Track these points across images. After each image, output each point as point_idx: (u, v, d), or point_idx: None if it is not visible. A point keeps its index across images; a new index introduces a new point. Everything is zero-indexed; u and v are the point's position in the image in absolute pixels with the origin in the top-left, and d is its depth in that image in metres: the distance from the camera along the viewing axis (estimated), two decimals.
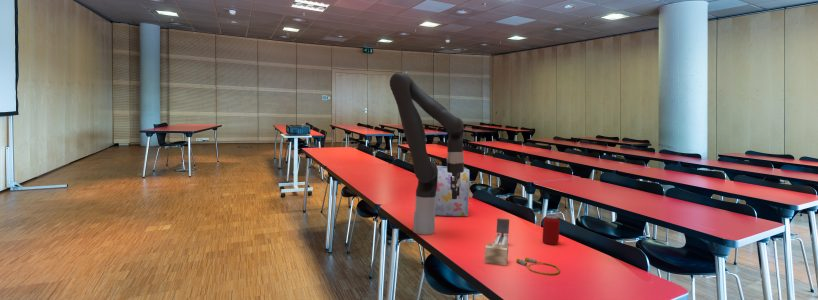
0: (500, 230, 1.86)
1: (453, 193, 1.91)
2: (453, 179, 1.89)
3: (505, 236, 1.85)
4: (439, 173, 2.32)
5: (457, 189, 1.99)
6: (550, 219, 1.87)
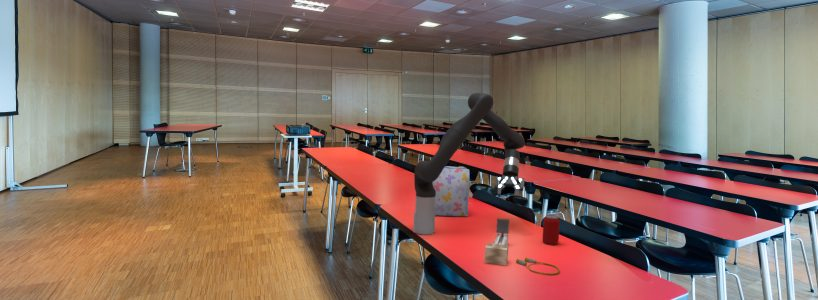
0: (500, 230, 1.86)
1: (518, 192, 2.02)
2: None
3: (505, 236, 1.85)
4: None
5: (500, 190, 2.05)
6: (550, 219, 1.87)
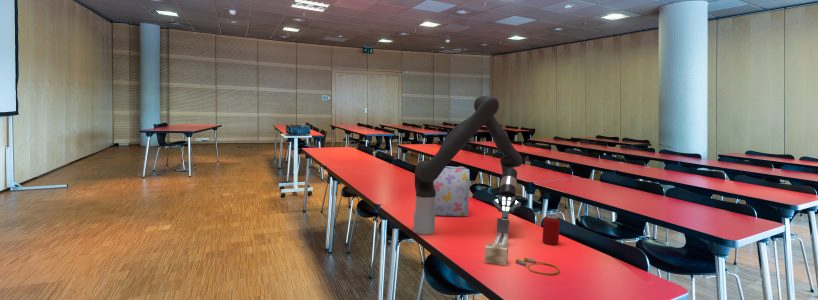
0: (500, 230, 1.86)
1: (508, 214, 1.95)
2: (518, 206, 1.97)
3: (505, 236, 1.85)
4: None
5: None
6: (550, 219, 1.87)
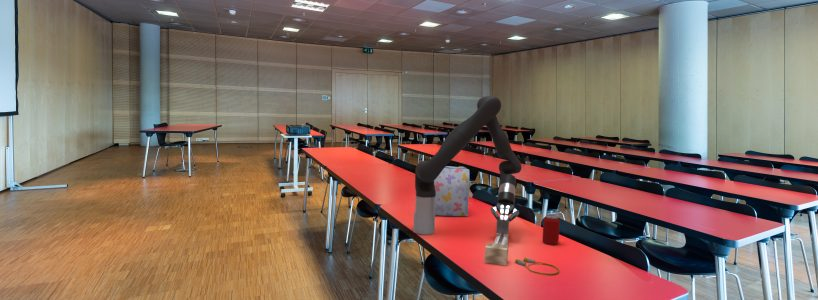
0: (500, 231, 1.85)
1: None
2: (517, 214, 1.90)
3: (505, 236, 1.85)
4: None
5: None
6: (550, 219, 1.87)
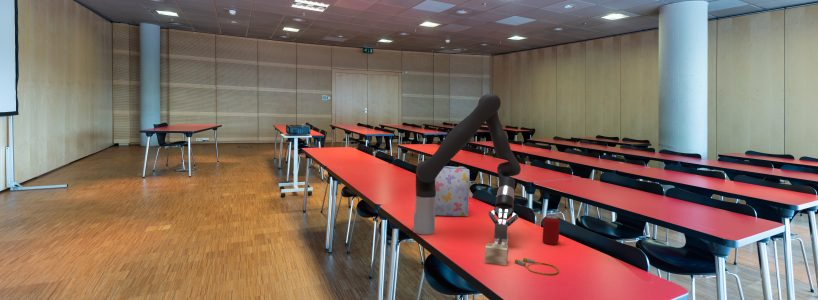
0: (498, 236, 1.78)
1: None
2: (516, 218, 1.83)
3: None
4: (439, 173, 2.32)
5: None
6: (550, 219, 1.87)
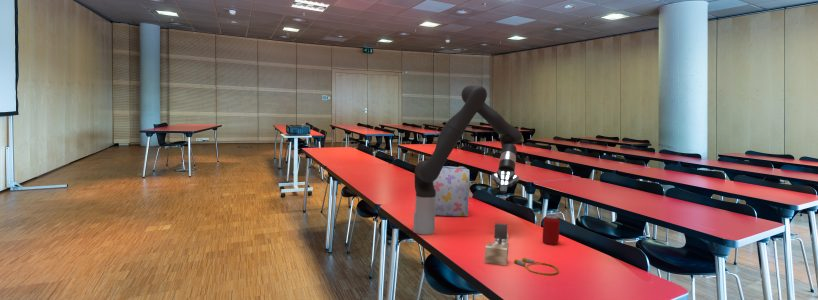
0: (498, 236, 1.78)
1: (506, 188, 1.97)
2: (517, 180, 1.99)
3: None
4: None
5: None
6: (550, 219, 1.87)
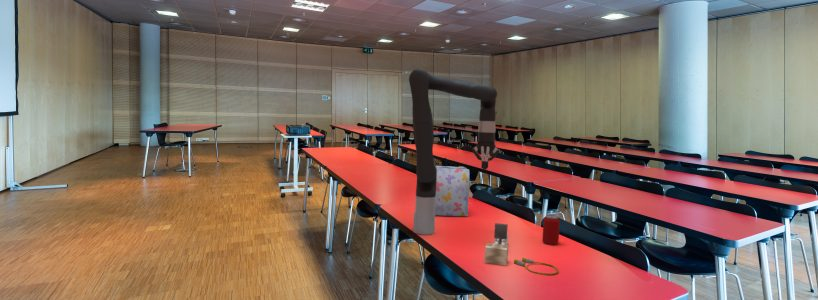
0: (498, 236, 1.78)
1: (487, 164, 1.94)
2: None
3: None
4: (439, 173, 2.32)
5: None
6: (550, 219, 1.87)
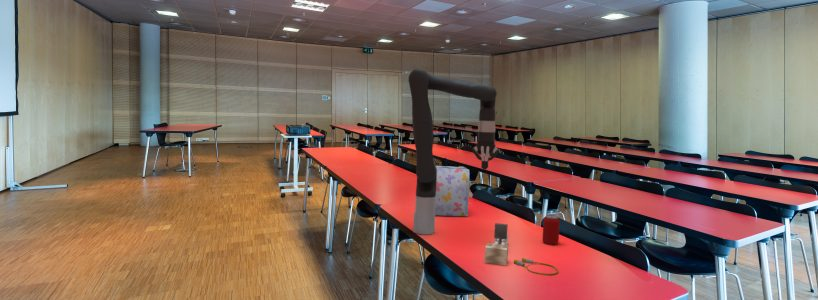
0: (498, 236, 1.78)
1: (487, 163, 1.94)
2: None
3: None
4: (439, 173, 2.32)
5: None
6: (550, 219, 1.87)
